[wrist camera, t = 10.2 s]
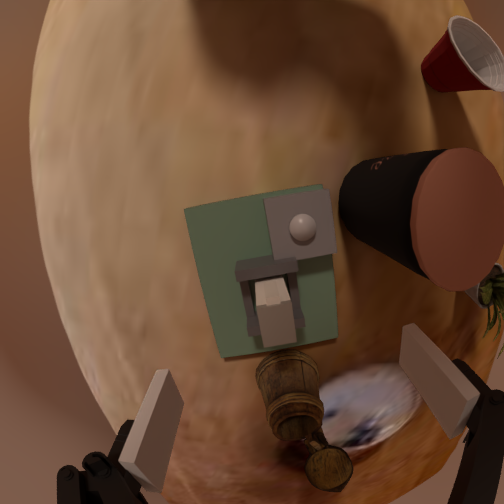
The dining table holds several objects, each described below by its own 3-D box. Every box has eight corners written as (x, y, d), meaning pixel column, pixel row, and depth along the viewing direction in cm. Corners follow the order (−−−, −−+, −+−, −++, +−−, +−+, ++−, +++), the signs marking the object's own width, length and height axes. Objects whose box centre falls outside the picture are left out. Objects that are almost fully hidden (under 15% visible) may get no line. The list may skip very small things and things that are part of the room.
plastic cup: (437, 39, 26) (480, 13, 15) (469, 98, 29) (519, 85, 17) (392, 48, 28) (435, 13, 16) (429, 114, 30) (485, 99, 18)
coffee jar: (415, 173, 32) (516, 178, 14) (397, 250, 34) (487, 300, 17) (345, 148, 31) (431, 122, 14) (326, 232, 34) (396, 280, 16)
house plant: (423, 323, 37) (482, 381, 21) (435, 236, 34) (517, 268, 18) (479, 310, 37) (536, 351, 21) (492, 234, 34) (562, 259, 18)
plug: (253, 266, 33) (254, 301, 23) (278, 262, 33) (290, 295, 23) (260, 303, 34) (263, 347, 24) (284, 298, 34) (296, 341, 24)
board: (186, 208, 33) (174, 212, 28) (319, 184, 32) (332, 184, 27) (221, 351, 38) (218, 375, 32) (335, 331, 37) (346, 353, 32)
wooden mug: (294, 416, 41) (309, 504, 24) (243, 370, 38) (241, 472, 21) (340, 390, 40) (373, 477, 22) (295, 338, 37) (321, 438, 20)
